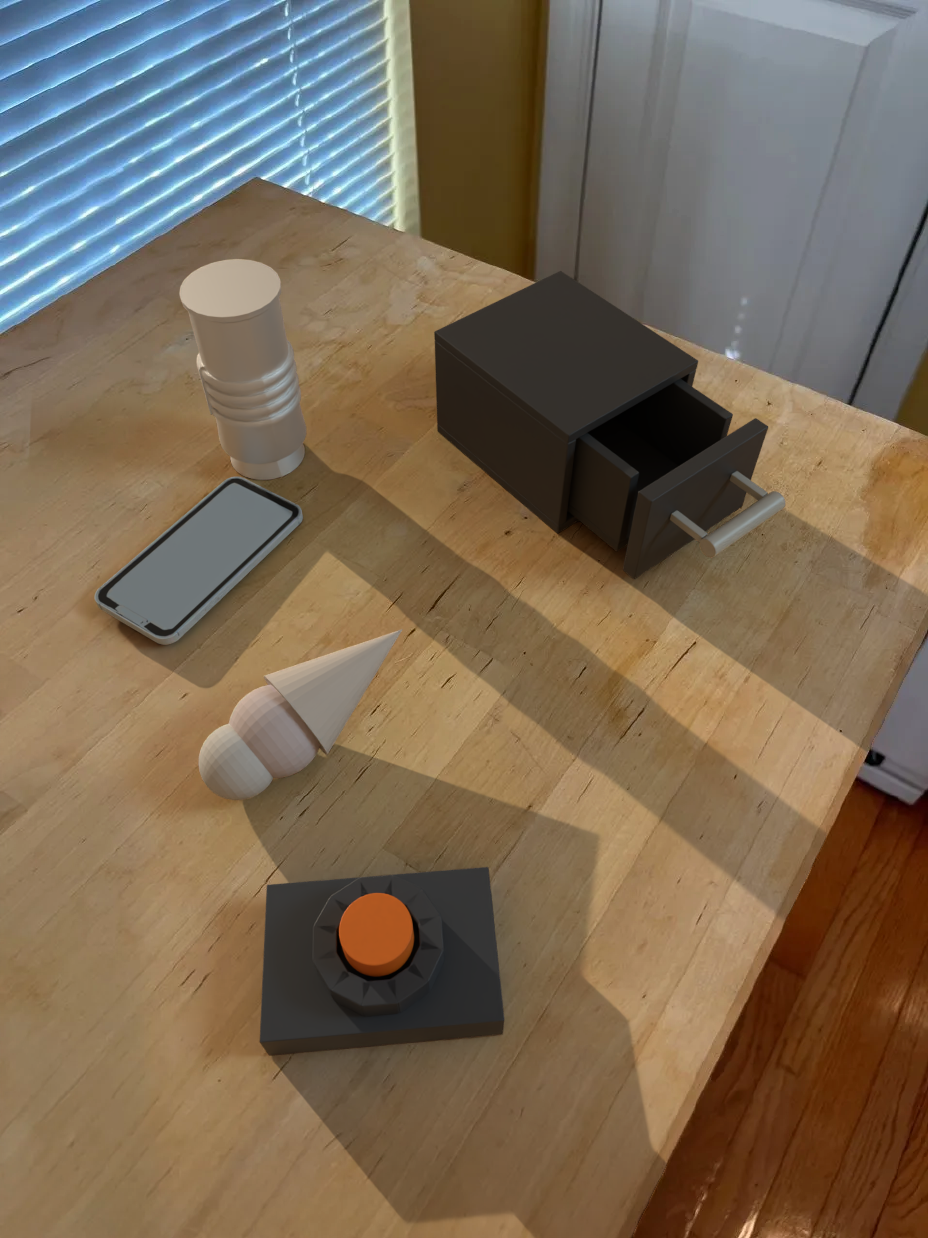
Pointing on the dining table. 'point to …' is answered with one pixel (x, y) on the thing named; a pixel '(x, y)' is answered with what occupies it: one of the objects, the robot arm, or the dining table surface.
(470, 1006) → the control block
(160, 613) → the smartphone
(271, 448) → the beige ribbed canister
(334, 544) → the dining table surface
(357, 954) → the button
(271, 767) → the ice cream cone
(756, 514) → the drawer
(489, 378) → the cabinet
